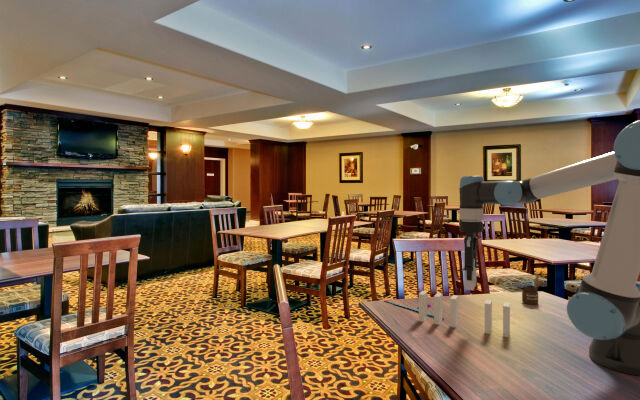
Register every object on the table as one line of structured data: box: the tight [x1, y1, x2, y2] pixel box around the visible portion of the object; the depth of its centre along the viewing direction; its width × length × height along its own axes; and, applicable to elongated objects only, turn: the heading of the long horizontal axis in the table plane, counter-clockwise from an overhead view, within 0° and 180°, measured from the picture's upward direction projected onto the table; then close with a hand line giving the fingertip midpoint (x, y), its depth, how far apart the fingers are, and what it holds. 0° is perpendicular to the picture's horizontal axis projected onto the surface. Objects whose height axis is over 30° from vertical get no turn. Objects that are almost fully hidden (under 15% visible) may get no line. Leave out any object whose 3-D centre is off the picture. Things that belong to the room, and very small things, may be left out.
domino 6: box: [502, 301, 511, 338], centre depth 117 cm, size 2×5×10 cm, turn 149°
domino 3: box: [449, 294, 459, 328], centre depth 125 cm, size 2×5×10 cm, turn 149°
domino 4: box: [466, 259, 476, 291], centre depth 122 cm, size 2×5×10 cm, turn 149°
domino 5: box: [484, 299, 493, 335], centre depth 119 cm, size 2×5×10 cm, turn 149°
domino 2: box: [433, 292, 443, 326], centre depth 128 cm, size 2×5×10 cm, turn 149°
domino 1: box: [418, 290, 428, 323], centre depth 131 cm, size 2×5×10 cm, turn 149°
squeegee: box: [383, 300, 444, 321], centre depth 144 cm, size 29×2×10 cm
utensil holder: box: [521, 274, 540, 306], centre depth 149 cm, size 6×6×12 cm
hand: (470, 287), depth 122 cm, fingers closed on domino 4, 5 cm apart
